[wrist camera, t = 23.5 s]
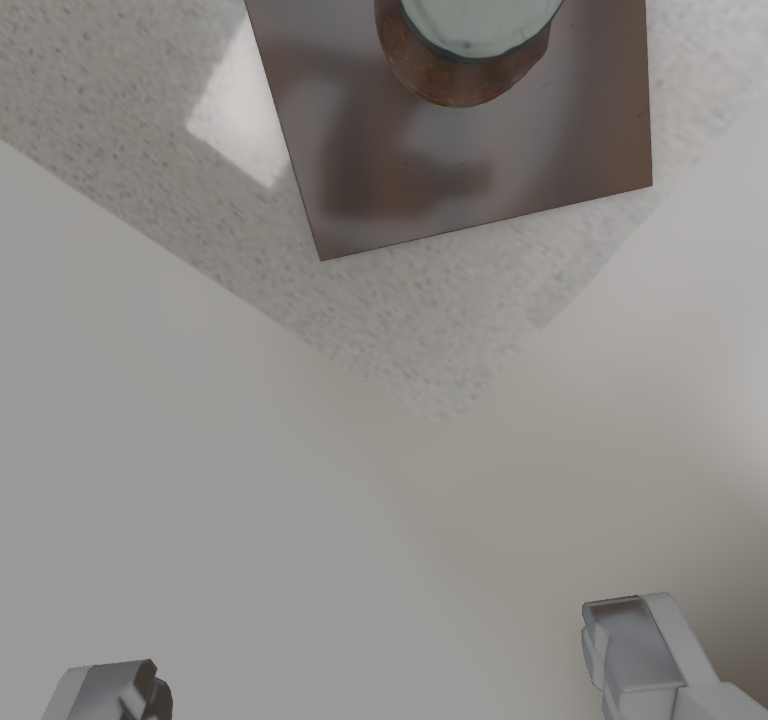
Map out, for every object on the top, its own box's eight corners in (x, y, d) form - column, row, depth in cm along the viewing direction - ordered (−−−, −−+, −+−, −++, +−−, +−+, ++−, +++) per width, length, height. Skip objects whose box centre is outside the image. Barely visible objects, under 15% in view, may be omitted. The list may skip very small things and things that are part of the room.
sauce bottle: (533, 11, 29) (735, -120, 11) (471, 128, 32) (553, 173, 14) (422, -59, 28) (445, -327, 10) (366, 68, 31) (306, 31, 13)
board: (321, 259, 36) (320, 261, 35) (207, -133, 28) (204, -138, 27) (649, 184, 33) (653, 186, 33) (629, -273, 25) (634, -282, 24)
